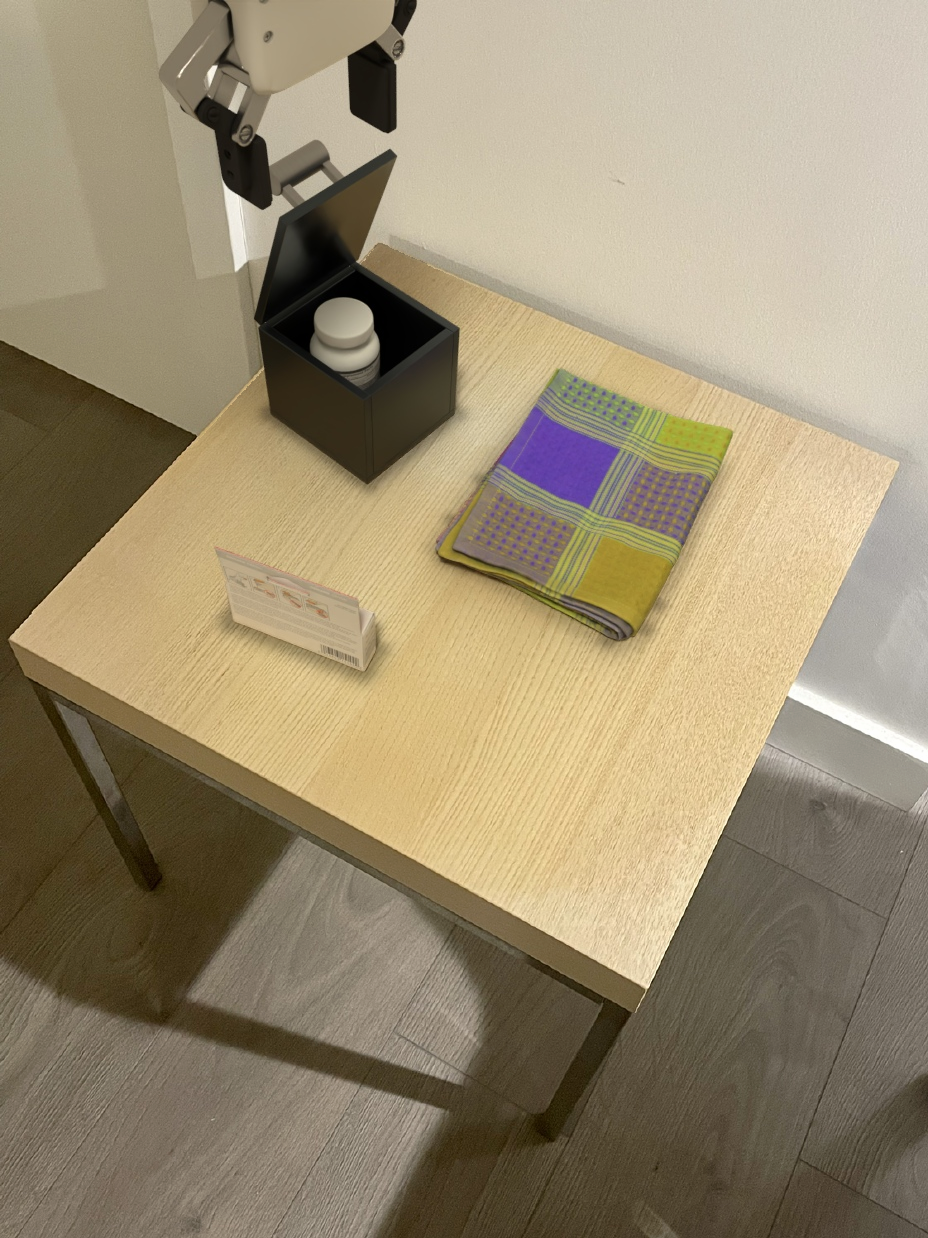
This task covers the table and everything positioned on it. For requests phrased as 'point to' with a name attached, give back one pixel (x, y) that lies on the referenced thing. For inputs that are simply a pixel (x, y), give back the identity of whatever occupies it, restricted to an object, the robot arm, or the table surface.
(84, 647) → the table surface
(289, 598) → the ink cartridge box
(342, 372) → the pill bottle
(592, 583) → the dish towel
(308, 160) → the black box lid
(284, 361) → the black open box
